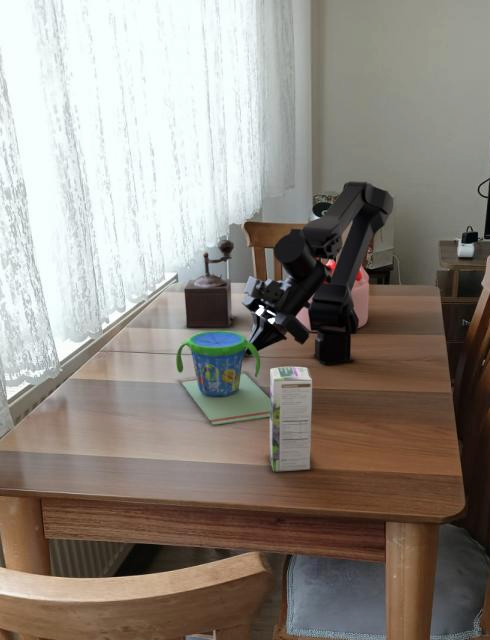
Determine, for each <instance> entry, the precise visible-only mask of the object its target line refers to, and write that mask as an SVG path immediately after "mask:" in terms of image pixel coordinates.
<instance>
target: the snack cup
mask: <svg viewBox="0 0 490 640" xmlns="http://www.w3.org/2000/svg"><path fill="white" fill-rule="evenodd" d="M185 346H187V347H188V348H189V350H190V353H191V356H192V362H193V367H194V372H195V378H197V382H198V386H199V390H200V391H201V392H202V393H204V394H205V395H210V396H219V395H221V396H227V395H230V394H233V393H235V392H236V391H238V389H239V384H240V376H241V372H242V368H243V361H244V358H245V357H244V356H245V354H244V353H245V349H246V348H248V349H250V351H251V353H252V354H251V355H252V356H253V357H254V359H255V360H256V361H255V362H256V363H255V373H254V377H255V378H258V375H259V372H260V369H261V358H260V353H259V351H257V349H256V348H255V347H254V345H253V344H252V343H250V342H248V339H247V338H246V337H245V335H243V334H241V333H238V332H235V331H228V330H212V331H211V330H209V331H204V332H203V331H202V332H199V333H196V334H194V335H192V336H190V337H189V338H188V339H186V340H185V341H184V342H182V343H181V345H180V346H179V347H178V349H177V352H176V357H175V359H176V360H175V363H176V369H177V373H180V374H182V373H183V371H184V363H183V360H182V359H183V358H182V351H183V348H184V347H185Z"/></svg>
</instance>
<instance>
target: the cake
mask: <svg viewBox="0 0 490 640" xmlns="http://www.w3.org/2000/svg"><path fill="white" fill-rule="evenodd" d="M316 259H318V260H320V259H319V258H316ZM322 263H323V264H325V262H322ZM336 263H337V262H336V261H335V260H334V259H332V260H331V259H328V261H327V263H326V264H325V265H326V266H328V267H330V268H331V269H332V271H331V276H332V273H333V271H334V268H335V266H336ZM369 281H370V276H369V274H368V273H367V271H366V270H365V269H364V267H363V263H362V264H361V267H360V269H359V272H358V275H357V277H356V280H355V283H354V285H353V288H352V291H351V295H352V299H353V303H354V308H353V309H354V311H355V313H356V315H357V317H358V319H359V323H358V329H359V328H362V327H363V326H365V325H367V322H368V317H369V300H370V299H369V298H370V283H369ZM323 283H327V282H325V281H324V282H323ZM314 294H315V293H314ZM313 296H314V295H313ZM313 296H312V297H313ZM312 297H311V298H310V299H309V301H308V302H309V303H311V301H312ZM296 318H297V319H298V320H299V321H300V322H301V323H302V324H303V325H304V326H305V327H306V328H307V329H308V330H309V332H313V333H317V331H311V327H310V321H309V315H308V309H307V308H305V307H303V308H302V309H301V311H300V312H299V313H298V314H297V316H296Z"/></svg>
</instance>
